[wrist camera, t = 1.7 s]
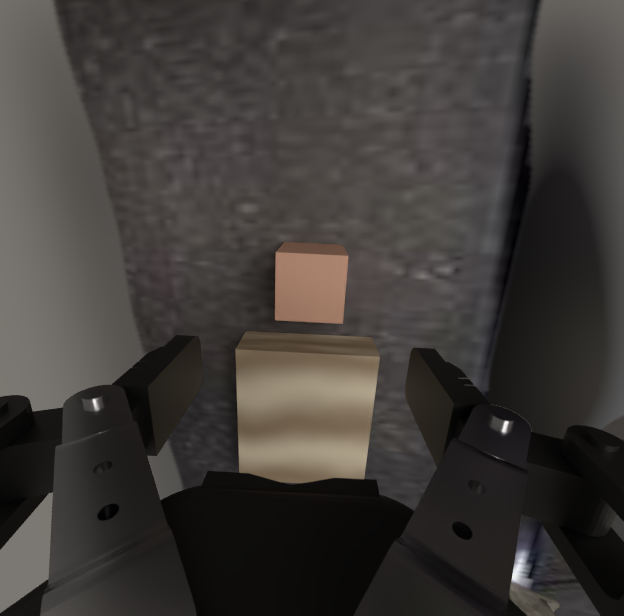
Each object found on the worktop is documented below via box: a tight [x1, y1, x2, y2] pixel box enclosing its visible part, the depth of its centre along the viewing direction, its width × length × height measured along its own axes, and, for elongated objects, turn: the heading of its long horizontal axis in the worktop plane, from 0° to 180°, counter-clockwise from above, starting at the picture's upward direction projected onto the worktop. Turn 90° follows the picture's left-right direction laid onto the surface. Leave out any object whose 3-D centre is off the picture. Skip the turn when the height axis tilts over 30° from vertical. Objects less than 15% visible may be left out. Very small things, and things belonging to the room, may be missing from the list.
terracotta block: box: [275, 242, 348, 324], centre depth 25 cm, size 5×5×6 cm
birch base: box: [235, 331, 380, 483], centre depth 30 cm, size 14×12×4 cm
